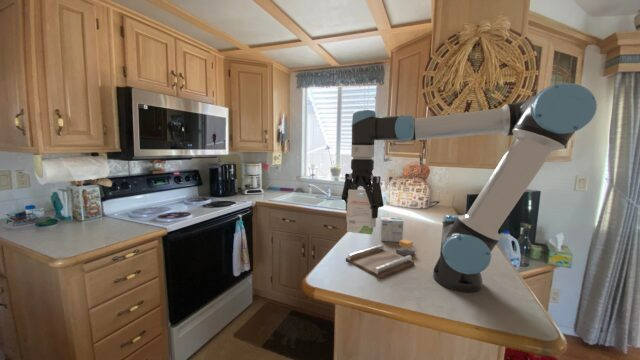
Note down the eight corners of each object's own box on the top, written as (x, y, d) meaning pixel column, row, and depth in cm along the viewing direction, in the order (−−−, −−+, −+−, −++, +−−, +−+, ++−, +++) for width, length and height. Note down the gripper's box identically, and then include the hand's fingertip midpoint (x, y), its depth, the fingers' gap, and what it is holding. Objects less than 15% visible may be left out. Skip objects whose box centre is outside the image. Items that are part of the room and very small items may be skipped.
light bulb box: (400, 237, 135) (401, 217, 134) (402, 242, 128) (404, 221, 127) (378, 236, 136) (380, 216, 135) (380, 241, 129) (381, 219, 128)
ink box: (373, 230, 91) (375, 188, 90) (371, 234, 87) (373, 190, 85) (349, 228, 94) (350, 187, 92) (346, 232, 89) (347, 189, 88)
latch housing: (414, 253, 114) (414, 250, 114) (406, 256, 111) (407, 253, 111) (403, 249, 119) (403, 246, 119) (396, 252, 116) (396, 249, 115)
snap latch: (412, 246, 114) (412, 241, 114) (407, 248, 112) (407, 243, 112) (404, 243, 117) (404, 239, 117) (399, 245, 115) (399, 241, 115)
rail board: (414, 264, 104) (414, 262, 104) (380, 278, 92) (380, 275, 92) (378, 249, 118) (378, 247, 118) (345, 260, 106) (345, 257, 106)
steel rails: (411, 260, 105) (411, 256, 104) (377, 274, 93) (378, 268, 92) (381, 248, 117) (381, 244, 116) (348, 259, 105) (348, 254, 104)
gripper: (331, 157, 94) (330, 218, 96) (382, 159, 77) (379, 234, 79) (346, 157, 99) (345, 215, 101) (397, 159, 81) (394, 229, 84)
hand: (360, 223), depth 90 cm, fingers closed on ink box, 9 cm apart
